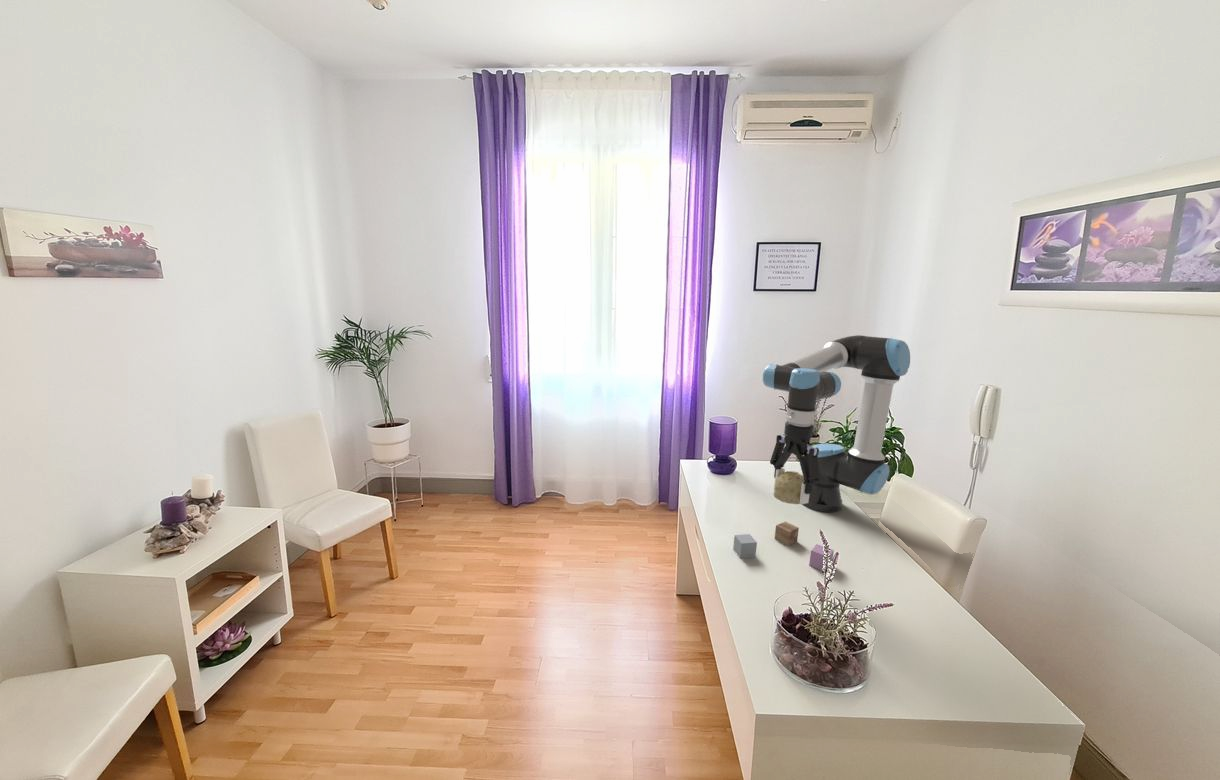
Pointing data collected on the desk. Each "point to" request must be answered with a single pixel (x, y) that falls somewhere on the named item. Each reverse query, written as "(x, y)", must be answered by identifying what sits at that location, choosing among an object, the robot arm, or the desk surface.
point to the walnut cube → (786, 533)
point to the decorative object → (788, 487)
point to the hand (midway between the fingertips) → (790, 496)
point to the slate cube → (745, 546)
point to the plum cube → (818, 556)
